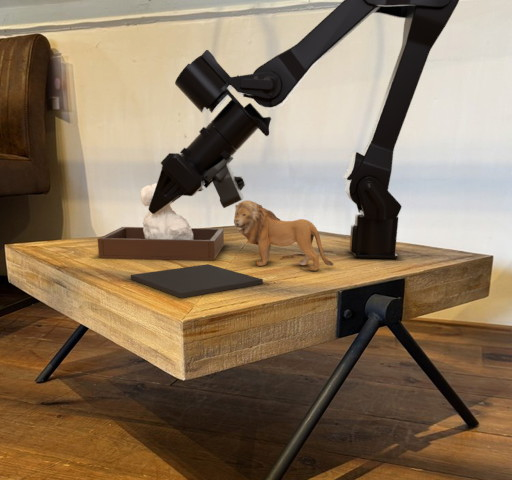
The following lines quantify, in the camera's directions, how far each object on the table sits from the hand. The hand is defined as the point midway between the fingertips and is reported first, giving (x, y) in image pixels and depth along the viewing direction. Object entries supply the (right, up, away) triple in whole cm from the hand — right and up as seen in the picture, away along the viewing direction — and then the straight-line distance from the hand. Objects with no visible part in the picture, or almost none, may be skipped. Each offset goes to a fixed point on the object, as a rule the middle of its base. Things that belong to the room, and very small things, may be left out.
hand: (155, 209), depth 90 cm
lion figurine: (+19, -10, -8) cm, 23 cm away
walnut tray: (+1, -6, +2) cm, 7 cm away
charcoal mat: (+8, -13, -18) cm, 24 cm away
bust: (+1, -6, +2) cm, 7 cm away
